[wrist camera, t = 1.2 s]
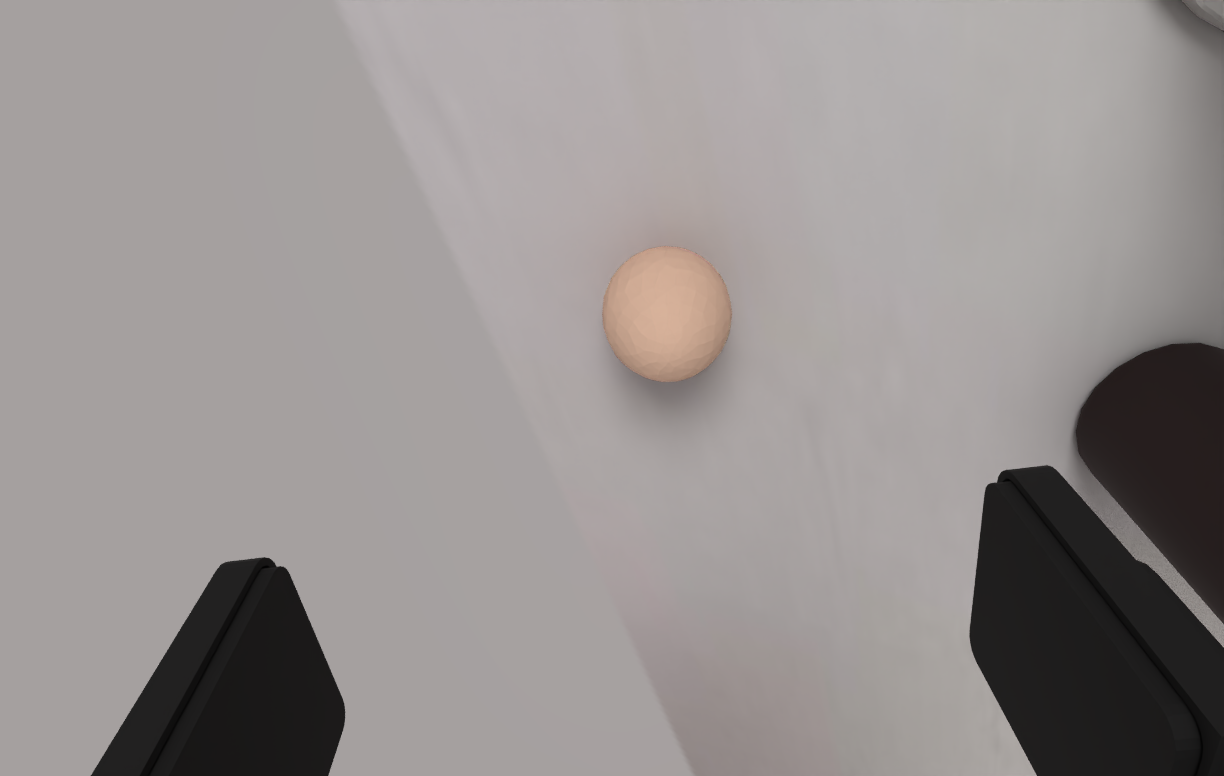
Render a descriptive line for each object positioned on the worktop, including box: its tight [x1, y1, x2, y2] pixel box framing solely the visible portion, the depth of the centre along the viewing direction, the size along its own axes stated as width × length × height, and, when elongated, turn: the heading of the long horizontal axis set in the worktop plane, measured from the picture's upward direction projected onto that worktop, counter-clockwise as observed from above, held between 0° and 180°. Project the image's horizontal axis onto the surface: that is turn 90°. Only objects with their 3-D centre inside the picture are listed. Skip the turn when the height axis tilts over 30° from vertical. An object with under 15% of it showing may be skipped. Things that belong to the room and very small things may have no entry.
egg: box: [602, 246, 732, 382], centre depth 28 cm, size 4×4×6 cm
